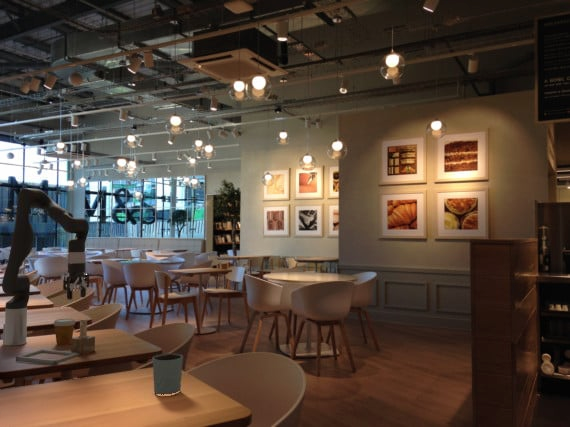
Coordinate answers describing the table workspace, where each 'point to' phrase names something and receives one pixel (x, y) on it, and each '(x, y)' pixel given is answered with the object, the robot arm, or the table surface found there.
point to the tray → (46, 361)
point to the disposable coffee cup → (64, 330)
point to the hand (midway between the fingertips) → (76, 298)
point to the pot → (83, 344)
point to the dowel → (83, 328)
